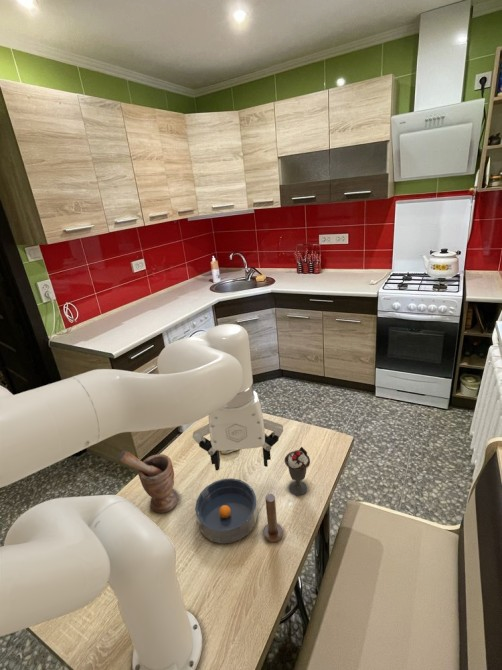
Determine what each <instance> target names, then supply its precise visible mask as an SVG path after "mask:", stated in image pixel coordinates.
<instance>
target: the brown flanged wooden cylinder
mask: <svg viewBox="0 0 502 670" xmlns="http://www.w3.org/2000/svg"><path fill="white" fill-rule="evenodd" d="M264 499H265V509H266V519H267V520H266V521H267V524H265V526H264V528H263V536H264V539H265V540H266V541H267V542H269V543H273V544H274V543H278V542H280V540H281V539H282V537H283V528H282V526H281V525H280V524H279V523H278V519H277V504H276V503H277V502H276V496H275V495H274V494H273V493H268V494H266V495H265V498H264Z"/></svg>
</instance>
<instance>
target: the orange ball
mask: <svg viewBox="0 0 502 670" xmlns="http://www.w3.org/2000/svg"><path fill="white" fill-rule="evenodd" d="M230 514H231V510H230V508H229V507H228V506H227V505H223V506H222V507H221V508H220V509H219V515H220V517H221V518H224V519H225V518H228V517H229V516H230Z"/></svg>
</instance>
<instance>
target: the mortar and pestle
mask: <svg viewBox="0 0 502 670" xmlns="http://www.w3.org/2000/svg"><path fill="white" fill-rule="evenodd" d="M117 460H118V461H120V462H121V463H122V464H124V465H126V466H128V467H131V468H134V469H136V470H137V475H138V478H139V481H140V483H141V487H142V488H143V490H144V492H145V493H146V494H147V495H148V496H149V497H150V507H151V510H152V511H153V512H155V513H156V514H165V513H168V512H170V511H171V510H173V509H174V508H175V507H176V505H177V504H178V502H179V494H178V493H177V491H176V490H175V489H174V485H175V471H174V466H173V463H172V458H170V457H169V456H168V455H166V454H164V453H162V454H161V453H159V454H153V455H151V456H148V457H147V458H145V459H144V460H143V461H142V460H140V459H139V458H138V457H137V456H136V455H134V454H133V453H131V452H129V451H127V450H122V451H120V453H119V454H118V458H117Z"/></svg>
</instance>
